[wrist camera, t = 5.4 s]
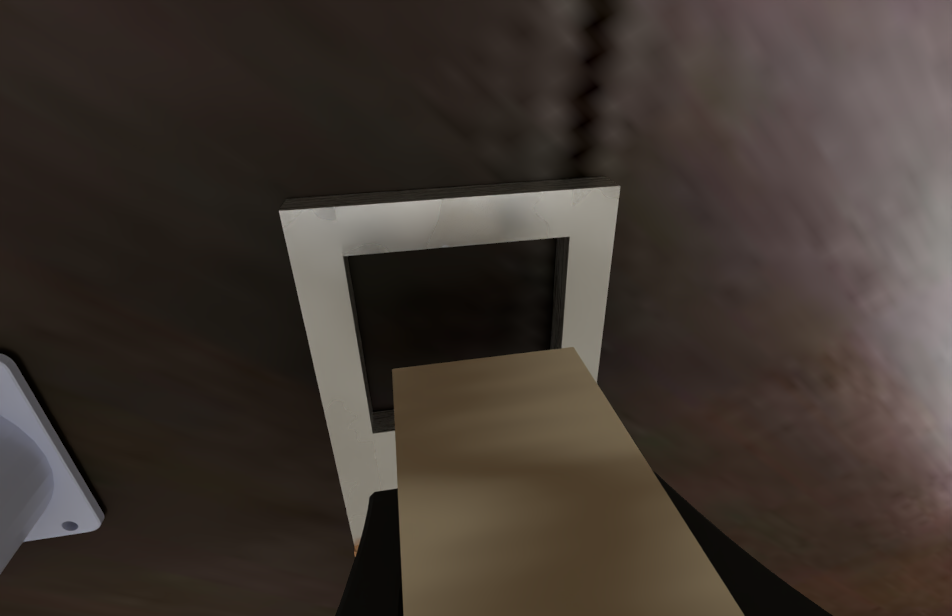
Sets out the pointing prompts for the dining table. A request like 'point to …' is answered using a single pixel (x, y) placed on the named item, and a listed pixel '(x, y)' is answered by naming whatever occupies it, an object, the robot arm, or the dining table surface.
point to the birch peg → (535, 499)
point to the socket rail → (426, 227)
